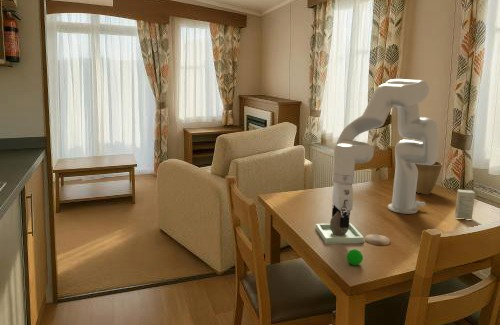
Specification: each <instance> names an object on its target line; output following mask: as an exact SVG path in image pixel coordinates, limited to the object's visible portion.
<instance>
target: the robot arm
mask: <svg viewBox="0 0 500 325" xmlns="http://www.w3.org/2000/svg"><path fill="white" fill-rule="evenodd" d="M429 86H430V85H429V84H428V82H426V80H422V79H408V78H406V79H405V78H393V79H389V80H387V81H385V83H382V84H380V85H378V86H377V87H376V88H375V90H374V91H373V94H372V95H371V98H370V100H369V101H368V104H367V106H366V108H365V110H364V112H363V113H362V115H361V116H359V117H356V119H354V120H353V121H351V122H350V123H349V124H347V125H346V126H345V127H344V129H343V130H342V131H341V133H340V135H339V137H338V139H337V142H336V143H335V146H334V149H333V165H332V166H333V167H332V178H331V179H332V180H331V182H332V183H333V185H332V186H333V187H332V198H331V199H332V211H331V213H332V214H331V218H332V217H333V216H334V215H335V214H336V213H337V211H341V217H340V228H348V227H349V223H350V217H351V216H350V215H351V211H352V210H353V206H354V205H353V203H354V202H353V201H354V192H353V190H354V188H353V184H354V181H355V180H354V178H355V165H356V164H365V163H369V162H370V161H371V160H372V159H373V158H374V154H375V150H374V147H373V146H372V145H371V144H369V143H368V142H362V141H358V140H354V139H355V138H357V137H358V136H359V135H361V134H362V133H365V132H368V131H372V130H375V129H379V128H381V127H382V126H384V124H385V122H386V121H387V118H388V116H389V115H390V113H391V110H392V108H393V107H394V108H396V111H397V132H398V134H399V136H400V137H402V138H403V139H402V140H399V141H397V142H396V145H394V146H395V147H394V156H395V158H394V159H395V167H394V168H395V169H394V170H395V171H394V179H393V189H392V198H391V203H389V204H387V209H388V210H390V211H392V212H394V213H398V214H404V215H407V214H408V215H413V214H416V213H418V211H419V208H418V207H425V206H426V202H425V201H420V200H416V195H417V193H416V188H417V179H418V170H417V167H416V165H415V163H417V164H422V165H433V164H434V163H435V162H437V160H438V157H439V124H438V122H437V121H436V120H435V119H434V118H431V117H424V116H420V105H419V104H421V103H423V102H424V101H425V100H426V99H427V98H428V97H429V93H430V87H429ZM343 212H344V214H343Z"/></svg>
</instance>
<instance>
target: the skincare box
mask: <svg viewBox="0 0 500 325" xmlns="http://www.w3.org/2000/svg"><path fill="white" fill-rule="evenodd" d="M475 195H476V192H475V191H474V190H472V189H471V190H470V189H457V192H456V200H455V210H454V218H455V217H456V218H464V219H472V220H473V214H474V213H473V212H474V204H475V198H476V197H475ZM456 218H455V219H456Z"/></svg>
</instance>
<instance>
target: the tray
mask: <svg viewBox="0 0 500 325" xmlns="http://www.w3.org/2000/svg"><path fill="white" fill-rule="evenodd" d="M315 230H316V231H317V233H318V235H319V236H320V237H321V239H322V241H323V242H324V244H329V245H331V244H332V245H333V244H335V245H336V244H364V241H365V236H363V235H362V233H361V232H360V231H359V230H358V229H357V228H356V227H355V225H353V224H352V223H351V222H349V229H348V231H347V233H346V234H344V235H342V236H338V235H335V234H333V232H332V231H331V229H330V223H315Z"/></svg>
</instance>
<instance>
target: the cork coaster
mask: <svg viewBox="0 0 500 325" xmlns="http://www.w3.org/2000/svg"><path fill="white" fill-rule="evenodd" d="M364 241H365V242H366V243H368V244H371V245H374V246H383V247H384V246H388V245H390V244H391V239H390V238H389V237H388V236H385V235H381V234H376V233H375V234H374V233H373V234H366V235H365V236H364Z"/></svg>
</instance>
